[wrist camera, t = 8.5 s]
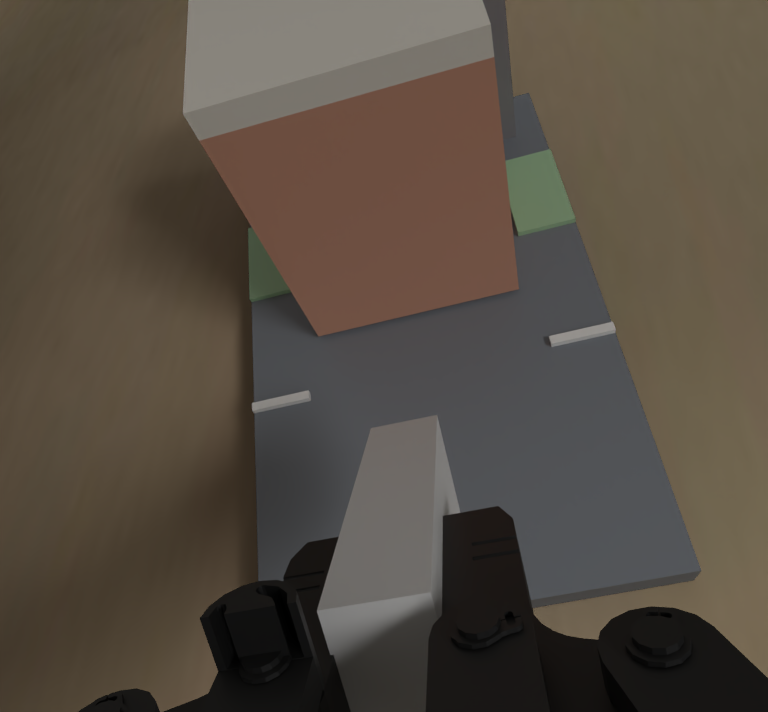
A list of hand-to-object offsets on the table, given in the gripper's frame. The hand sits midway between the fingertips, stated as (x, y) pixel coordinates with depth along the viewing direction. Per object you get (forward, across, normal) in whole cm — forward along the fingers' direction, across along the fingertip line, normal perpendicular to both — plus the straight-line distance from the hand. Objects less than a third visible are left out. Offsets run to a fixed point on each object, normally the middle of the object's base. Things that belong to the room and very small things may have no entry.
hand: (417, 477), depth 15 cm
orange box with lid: (+11, 0, +4) cm, 11 cm away
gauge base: (+10, 0, +1) cm, 10 cm away
